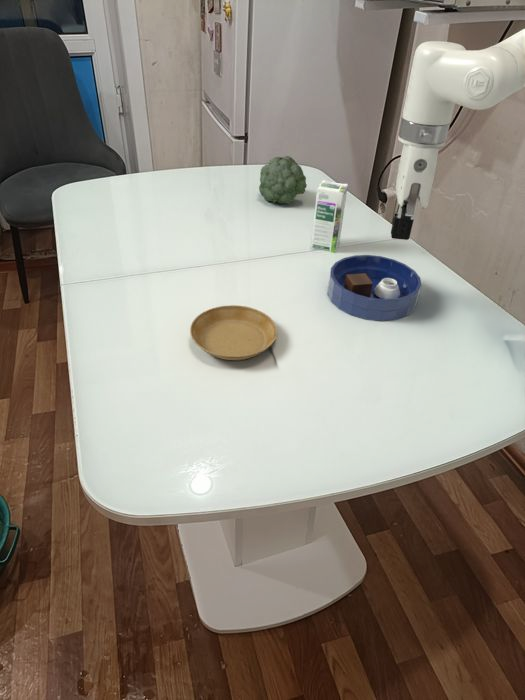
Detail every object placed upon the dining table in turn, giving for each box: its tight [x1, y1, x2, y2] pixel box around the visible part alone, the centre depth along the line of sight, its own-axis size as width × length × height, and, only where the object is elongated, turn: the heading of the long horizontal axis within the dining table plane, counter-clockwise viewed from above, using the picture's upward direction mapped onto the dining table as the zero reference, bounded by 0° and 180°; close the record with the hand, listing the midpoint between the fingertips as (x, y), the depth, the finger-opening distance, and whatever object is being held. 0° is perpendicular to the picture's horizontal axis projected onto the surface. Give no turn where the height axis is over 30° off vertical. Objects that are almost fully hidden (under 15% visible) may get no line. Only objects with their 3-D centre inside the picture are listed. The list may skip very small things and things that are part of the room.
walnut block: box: [344, 273, 373, 298], centre depth 99 cm, size 4×4×4 cm
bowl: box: [327, 254, 422, 322], centre depth 99 cm, size 17×17×5 cm
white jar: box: [374, 278, 400, 299], centre depth 100 cm, size 5×3×5 cm
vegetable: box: [258, 155, 308, 205], centre depth 136 cm, size 12×13×15 cm
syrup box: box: [310, 180, 349, 254], centre depth 113 cm, size 6×6×14 cm
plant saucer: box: [189, 304, 278, 361], centre depth 87 cm, size 15×15×3 cm
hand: (399, 236), depth 93 cm, fingers closed
